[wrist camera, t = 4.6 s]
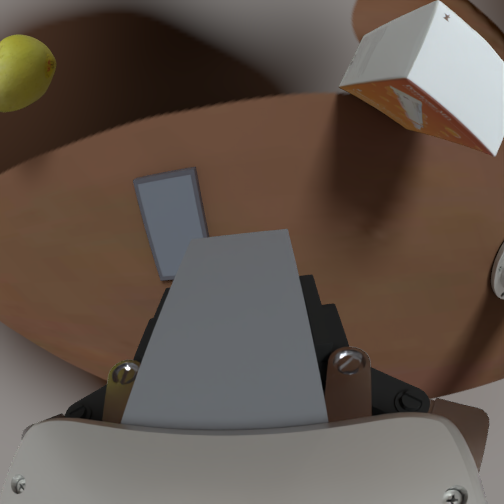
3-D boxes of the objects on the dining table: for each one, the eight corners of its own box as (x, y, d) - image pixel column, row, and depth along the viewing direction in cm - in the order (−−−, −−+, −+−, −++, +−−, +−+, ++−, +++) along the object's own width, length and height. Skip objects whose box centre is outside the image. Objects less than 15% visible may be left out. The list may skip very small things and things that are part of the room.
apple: (64, 107, 22) (-23, 119, 13) (27, 107, 24) (-45, 120, 15) (78, 32, 19) (-7, 24, 10) (38, 42, 20) (-34, 43, 11)
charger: (287, 228, 14) (331, 439, 5) (292, 307, 16) (318, 494, 7) (191, 239, 14) (115, 438, 5) (209, 314, 16) (178, 496, 7)
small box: (336, 88, 23) (403, 77, 11) (362, 34, 20) (438, -5, 9) (407, 131, 24) (496, 159, 13) (430, 80, 22) (524, 83, 10)
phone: (195, 166, 26) (193, 168, 26) (216, 270, 31) (215, 275, 31) (136, 177, 27) (132, 180, 26) (162, 276, 32) (160, 280, 31)
